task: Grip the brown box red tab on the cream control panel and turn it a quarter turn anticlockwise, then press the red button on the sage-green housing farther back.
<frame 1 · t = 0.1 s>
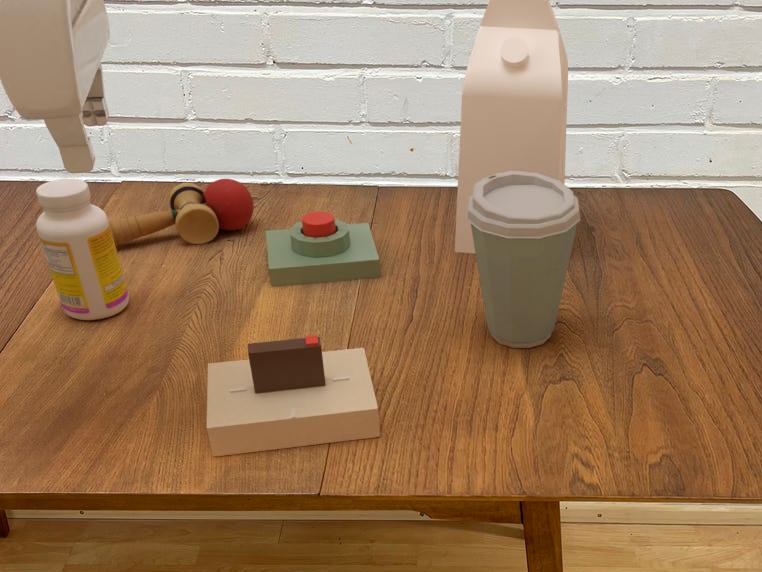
hand: (89, 144, 63), 24 cm above the table, tool pointing down, fingers open, 8 cm apart
brown box red tab: (287, 363, 76), point 5 cm above the table, hinge at 0.0°
button box: (322, 262, 102), on the table
disposable coffee cup: (518, 335, 90), on the table
kendama: (181, 238, 107), on the table
milk: (510, 237, 108), on the table
button: (318, 225, 99), point 4 cm above the table, slide at 0.1 cm
supplement bottle: (97, 308, 93), on the table
panel: (294, 413, 79), on the table
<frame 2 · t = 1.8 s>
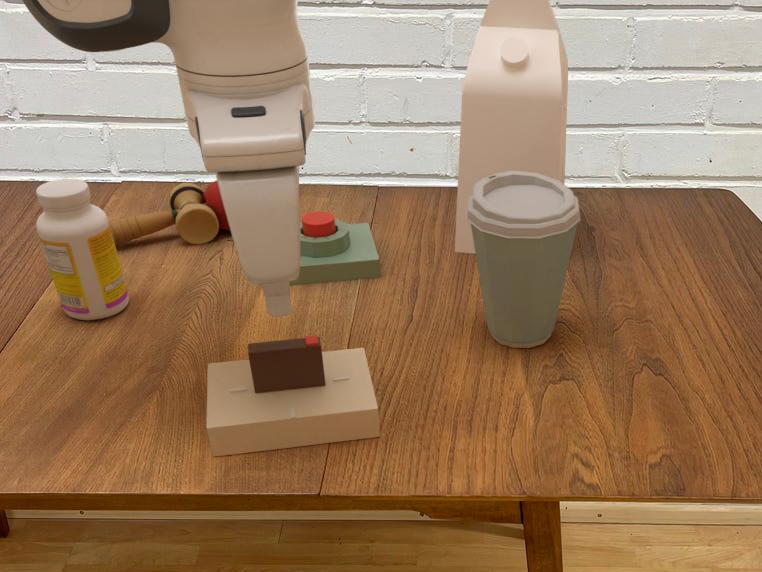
hand: (277, 283, 71), 13 cm above the table, tool pointing down, fingers open, 8 cm apart
nothing on the table moved.
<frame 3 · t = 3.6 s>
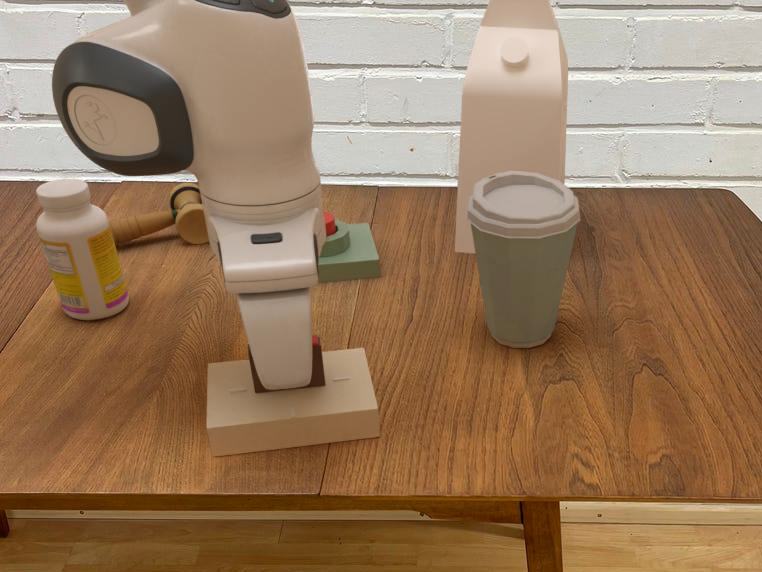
hand: (288, 374, 76), 4 cm above the table, tool pointing down, fingers closed on brown box red tab, 2 cm apart
brown box red tab: (287, 363, 76), point 5 cm above the table, hinge at 0.0°, touching gripper
everything else where it was.
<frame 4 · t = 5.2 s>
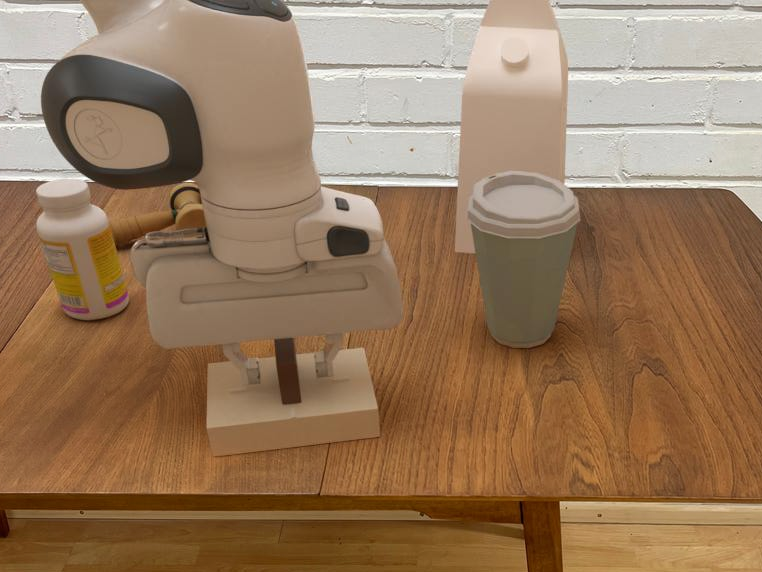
hand: (288, 377, 77), 4 cm above the table, tool pointing down, fingers open, 5 cm apart
brown box red tab: (287, 363, 76), point 5 cm above the table, hinge at 89.6°
everything else where it was.
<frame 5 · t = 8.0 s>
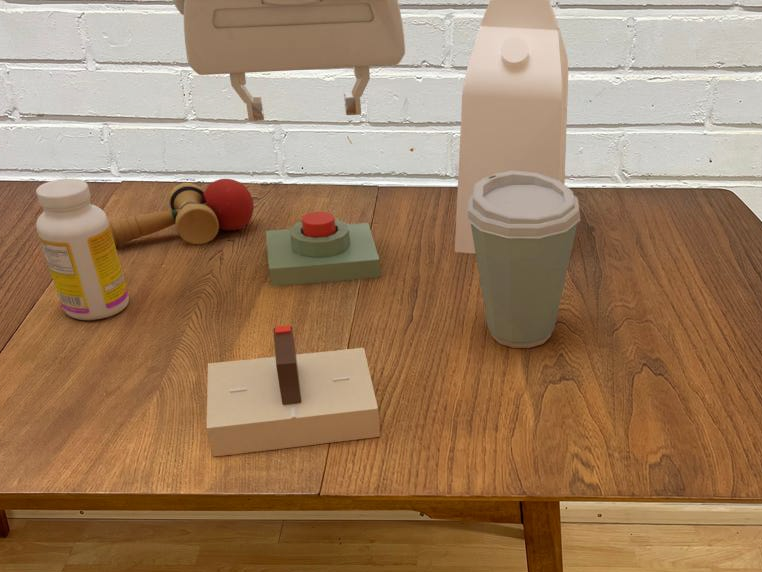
hand: (305, 116, 88), 18 cm above the table, tool pointing down, fingers open, 8 cm apart
nothing on the table moved.
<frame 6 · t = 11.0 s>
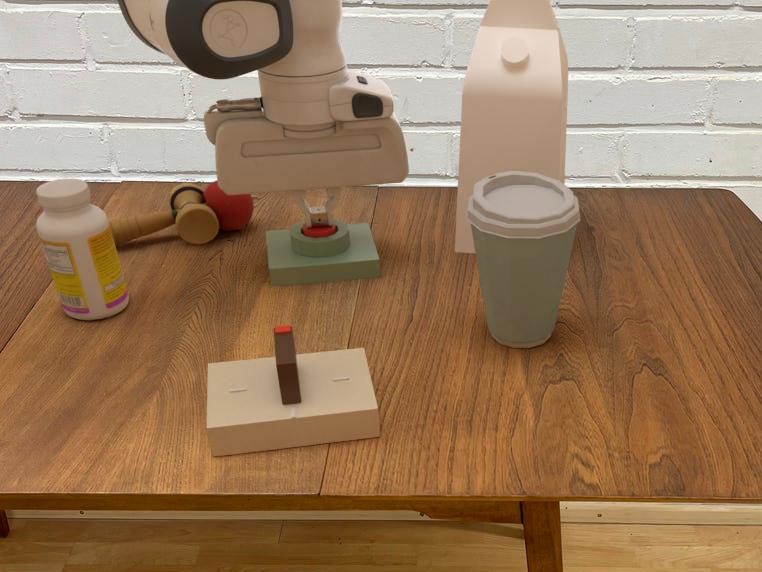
hand: (319, 225, 99), 5 cm above the table, tool pointing down, fingers closed, pressing on button
button: (319, 232, 100), point 4 cm above the table, slide at -0.8 cm, touching gripper
everything else where it was.
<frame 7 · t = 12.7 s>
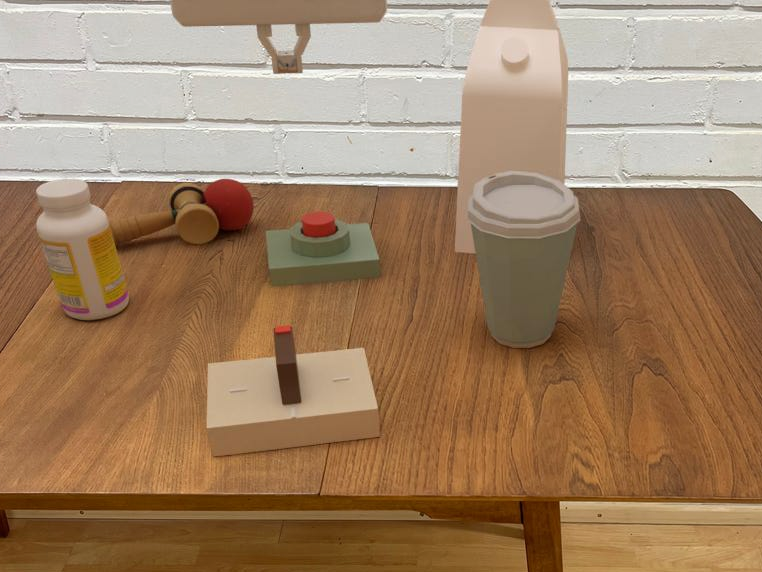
hand: (287, 72, 89), 20 cm above the table, tool pointing down, fingers closed
button: (318, 225, 99), point 4 cm above the table, slide at 0.1 cm
everything else where it was.
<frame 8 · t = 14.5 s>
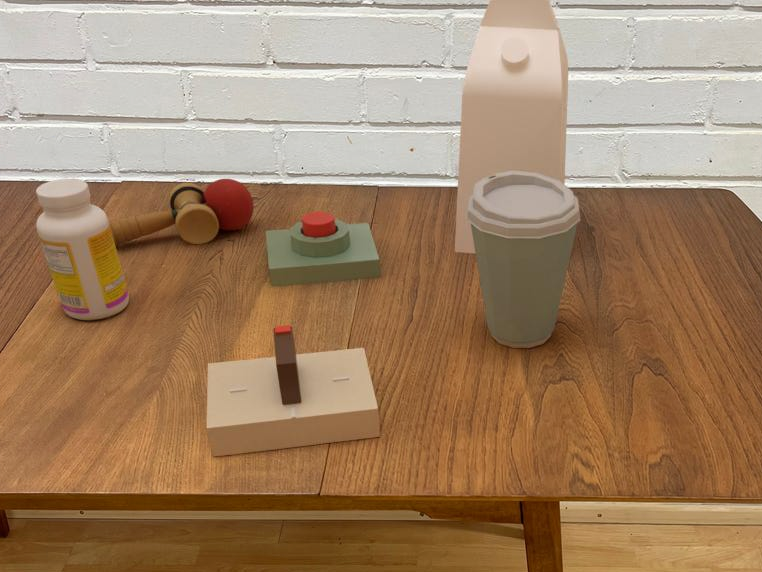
nothing on the table moved.
at the end: brown box red tab at +90° (first picture: +0°); button pushed in 1.0 cm at the most during the clip, back to where it started at the end; button slide at 0.1 cm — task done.
